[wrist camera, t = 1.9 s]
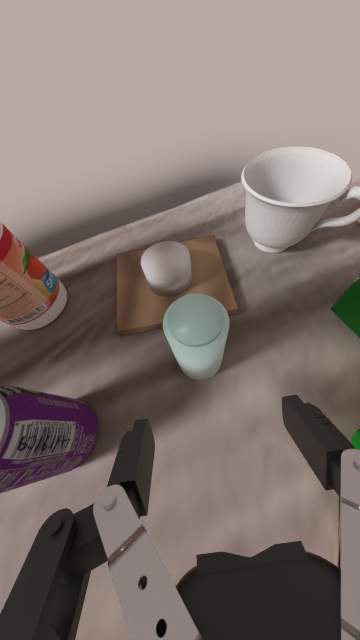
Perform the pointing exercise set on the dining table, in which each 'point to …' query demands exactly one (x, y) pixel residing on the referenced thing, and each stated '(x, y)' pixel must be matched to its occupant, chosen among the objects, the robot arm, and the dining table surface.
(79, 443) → the beverage can
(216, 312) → the pale green cylinder
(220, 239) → the dining table surface
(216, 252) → the stud base
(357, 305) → the milk carton
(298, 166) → the teacup
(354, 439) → the polyhedron
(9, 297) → the strawberry yogurt bottle
